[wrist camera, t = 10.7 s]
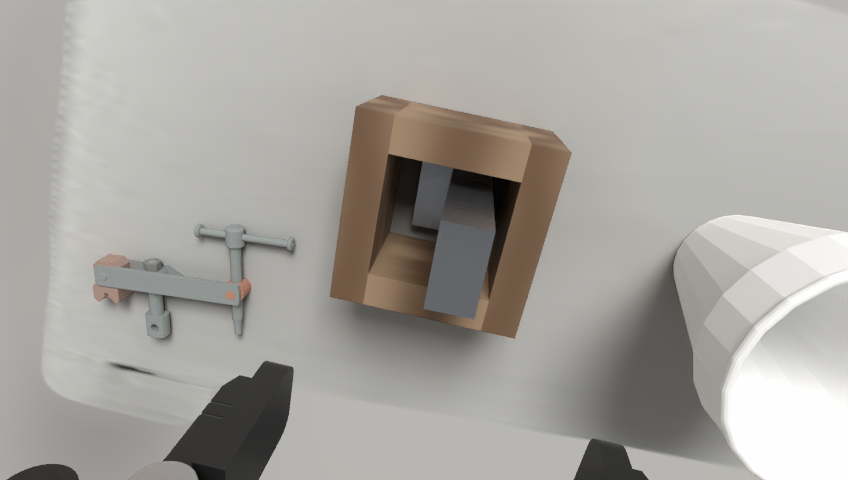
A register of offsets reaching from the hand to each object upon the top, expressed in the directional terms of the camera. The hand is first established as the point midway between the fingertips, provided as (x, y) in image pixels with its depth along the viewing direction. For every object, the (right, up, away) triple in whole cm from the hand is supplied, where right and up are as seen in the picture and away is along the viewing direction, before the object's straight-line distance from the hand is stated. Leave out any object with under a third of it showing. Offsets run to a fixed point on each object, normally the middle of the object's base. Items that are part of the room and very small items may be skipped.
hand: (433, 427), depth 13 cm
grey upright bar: (+2, +8, +20) cm, 22 cm away
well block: (+1, +8, +20) cm, 22 cm away
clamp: (-17, +2, +25) cm, 31 cm away
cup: (+20, +3, +20) cm, 28 cm away
